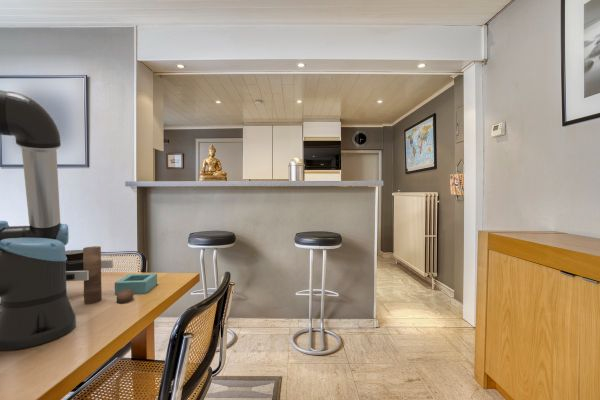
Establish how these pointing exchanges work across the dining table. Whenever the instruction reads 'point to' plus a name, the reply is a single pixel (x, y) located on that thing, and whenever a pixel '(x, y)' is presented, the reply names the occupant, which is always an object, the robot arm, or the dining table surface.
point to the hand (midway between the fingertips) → (101, 269)
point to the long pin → (92, 274)
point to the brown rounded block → (124, 296)
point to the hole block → (136, 283)
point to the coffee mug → (74, 256)
